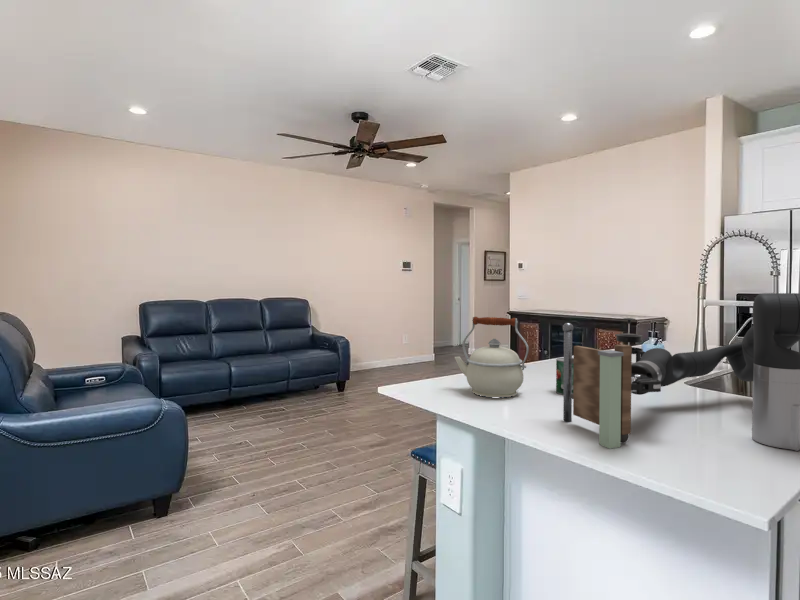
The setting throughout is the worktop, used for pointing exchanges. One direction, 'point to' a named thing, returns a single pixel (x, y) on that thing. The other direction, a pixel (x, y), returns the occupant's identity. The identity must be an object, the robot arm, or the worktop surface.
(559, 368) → the canned tomato
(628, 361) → the gate
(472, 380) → the kettle
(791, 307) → the robot arm
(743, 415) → the worktop surface
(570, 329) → the hinge post
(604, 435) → the post
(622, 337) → the french press
